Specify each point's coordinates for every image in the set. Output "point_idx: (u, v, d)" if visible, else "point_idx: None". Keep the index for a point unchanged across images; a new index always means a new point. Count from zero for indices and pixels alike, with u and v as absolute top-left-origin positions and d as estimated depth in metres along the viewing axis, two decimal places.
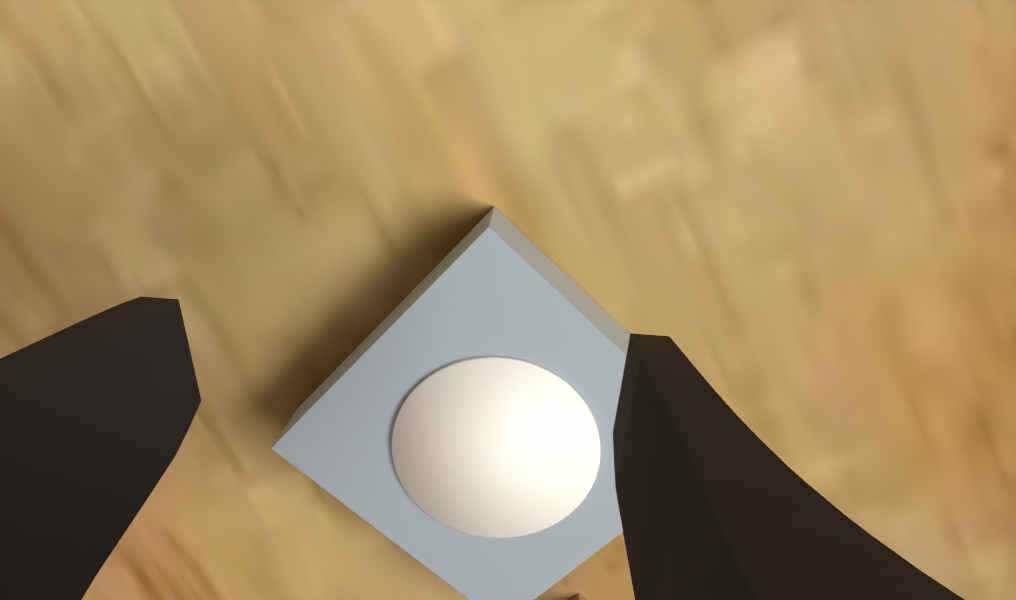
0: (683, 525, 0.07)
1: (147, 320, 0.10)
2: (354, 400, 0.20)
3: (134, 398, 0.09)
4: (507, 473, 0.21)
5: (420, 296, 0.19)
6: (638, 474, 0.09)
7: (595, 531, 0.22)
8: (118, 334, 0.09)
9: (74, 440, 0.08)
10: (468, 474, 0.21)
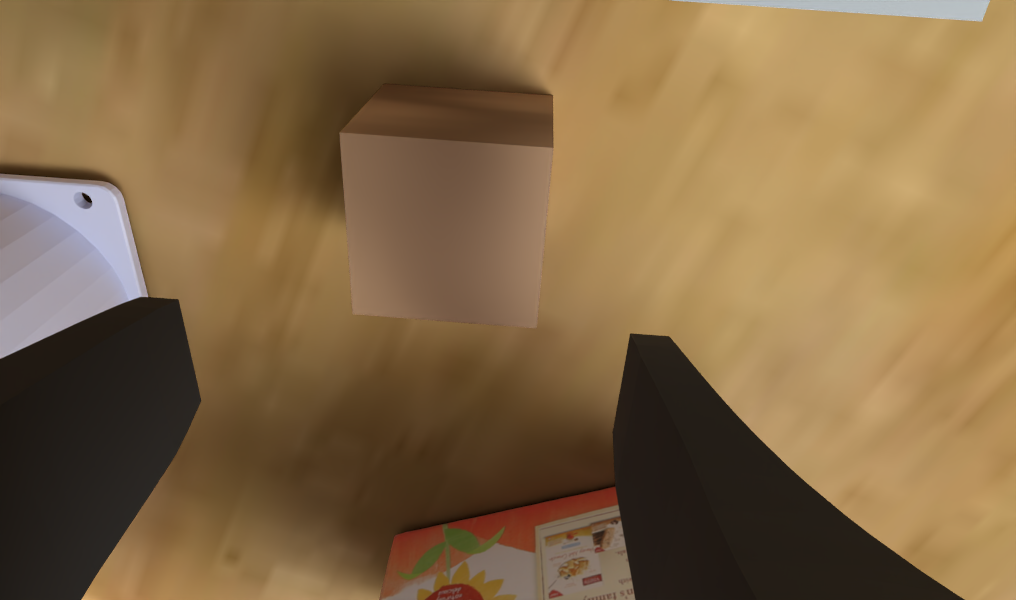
0: (683, 525, 0.07)
1: (147, 320, 0.10)
2: None
3: (134, 398, 0.09)
4: None
5: None
6: (638, 474, 0.09)
7: None
8: (118, 334, 0.09)
9: (74, 440, 0.08)
10: None
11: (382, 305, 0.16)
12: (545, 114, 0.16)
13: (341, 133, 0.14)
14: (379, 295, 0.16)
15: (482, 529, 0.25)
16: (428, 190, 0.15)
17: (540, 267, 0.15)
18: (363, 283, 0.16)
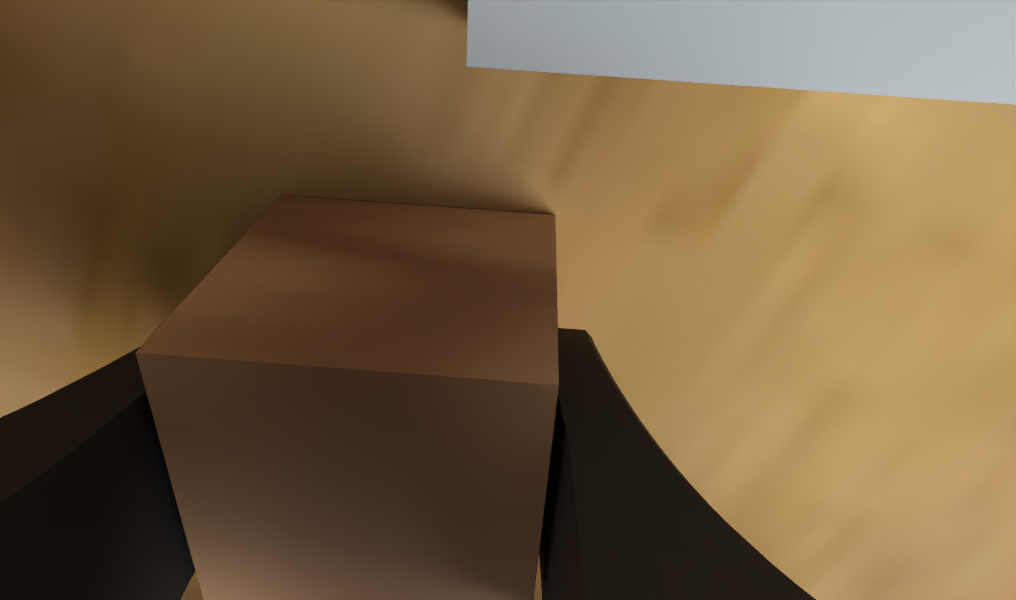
0: (564, 515, 0.07)
1: None
2: None
3: None
4: None
5: None
6: None
7: (950, 38, 0.07)
8: None
9: None
10: None
11: None
12: (543, 272, 0.09)
13: (139, 354, 0.07)
14: (251, 593, 0.09)
15: None
16: (319, 447, 0.08)
17: (534, 561, 0.09)
18: (220, 576, 0.09)
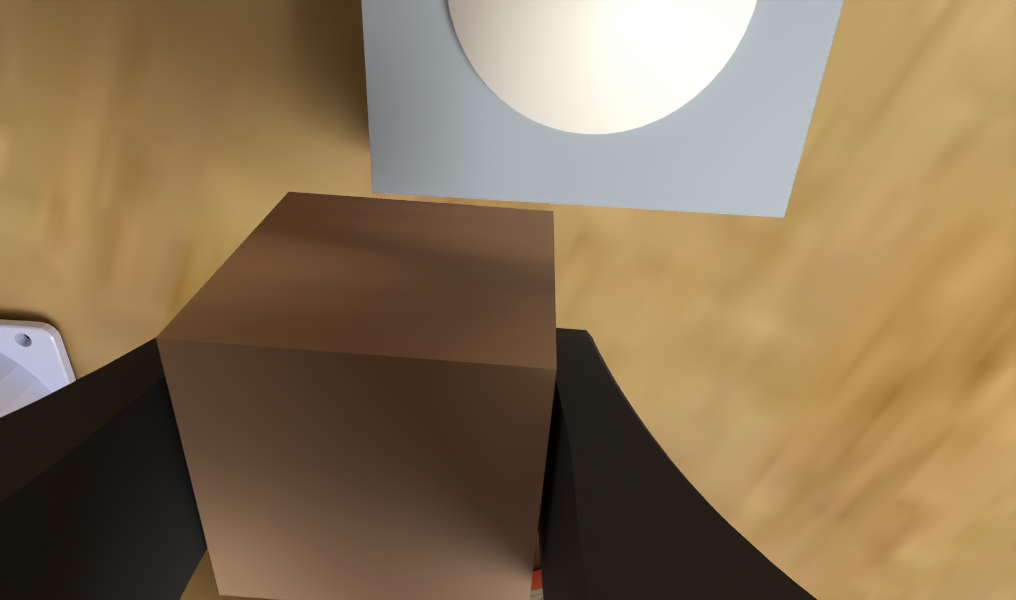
0: (565, 516, 0.07)
1: None
2: None
3: None
4: (585, 18, 0.14)
5: None
6: (546, 467, 0.09)
7: (581, 181, 0.16)
8: None
9: (174, 448, 0.08)
10: None
11: (268, 585, 0.10)
12: (540, 265, 0.10)
13: (159, 340, 0.08)
14: (261, 572, 0.10)
15: None
16: (329, 428, 0.08)
17: (533, 540, 0.09)
18: (232, 555, 0.09)
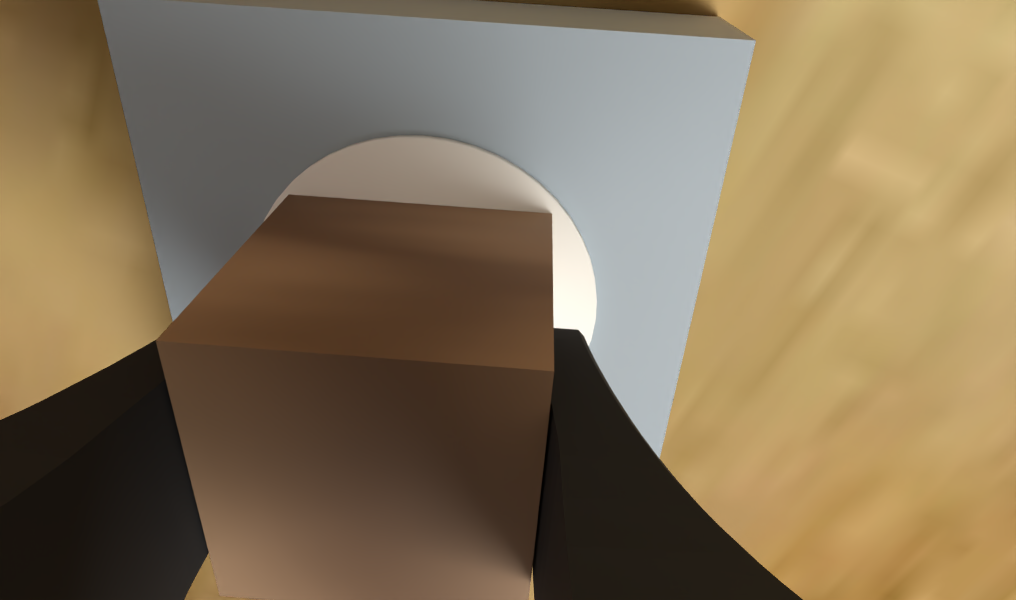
0: (554, 515, 0.07)
1: None
2: (311, 62, 0.11)
3: None
4: None
5: (564, 27, 0.10)
6: None
7: None
8: None
9: (178, 448, 0.08)
10: None
11: (268, 586, 0.10)
12: (540, 267, 0.10)
13: (159, 342, 0.08)
14: (261, 573, 0.10)
15: None
16: (329, 430, 0.08)
17: (531, 542, 0.09)
18: (232, 557, 0.09)
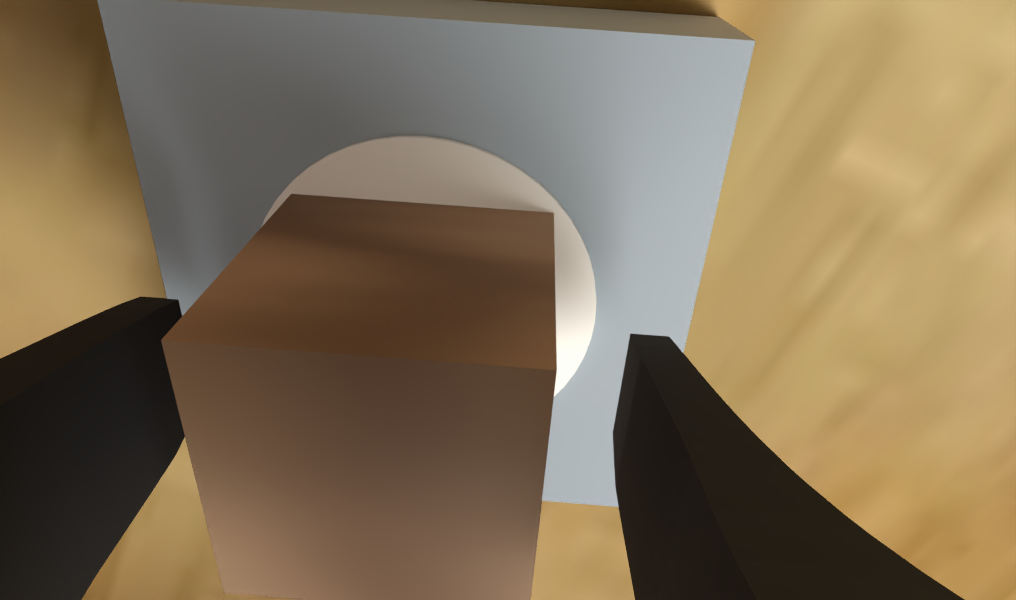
0: (683, 525, 0.07)
1: (147, 320, 0.10)
2: (311, 63, 0.11)
3: (134, 398, 0.09)
4: None
5: (563, 27, 0.10)
6: (638, 474, 0.09)
7: None
8: (118, 334, 0.09)
9: (74, 440, 0.08)
10: None
11: (272, 584, 0.10)
12: (541, 266, 0.10)
13: (164, 342, 0.08)
14: (265, 571, 0.10)
15: None
16: (332, 429, 0.08)
17: (534, 539, 0.09)
18: (236, 554, 0.09)
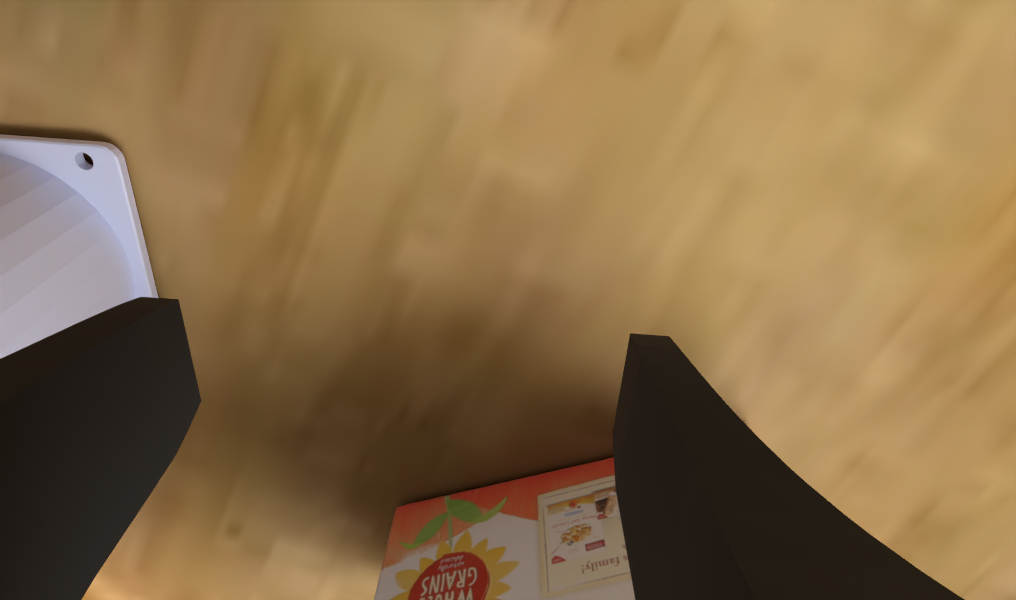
0: (683, 525, 0.07)
1: (147, 320, 0.10)
2: None
3: (134, 398, 0.09)
4: None
5: None
6: (638, 474, 0.09)
7: None
8: (118, 334, 0.09)
9: (74, 440, 0.08)
10: None
11: None
12: None
13: None
14: None
15: (485, 499, 0.25)
16: None
17: None
18: None
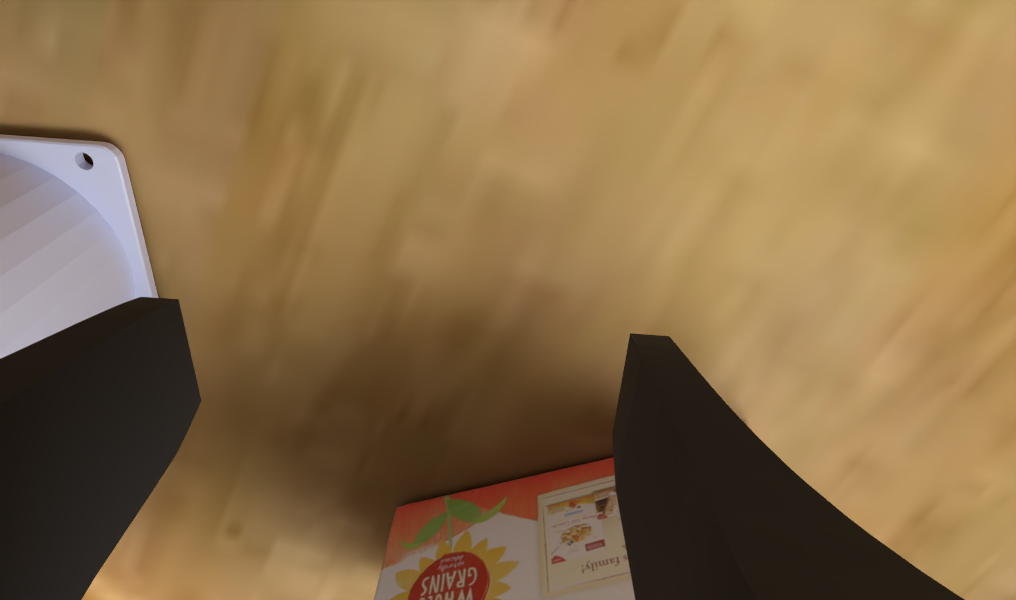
0: (683, 525, 0.07)
1: (147, 320, 0.10)
2: None
3: (134, 398, 0.09)
4: None
5: None
6: (638, 474, 0.09)
7: None
8: (118, 334, 0.09)
9: (74, 440, 0.08)
10: None
11: None
12: None
13: None
14: None
15: (485, 499, 0.25)
16: None
17: None
18: None
